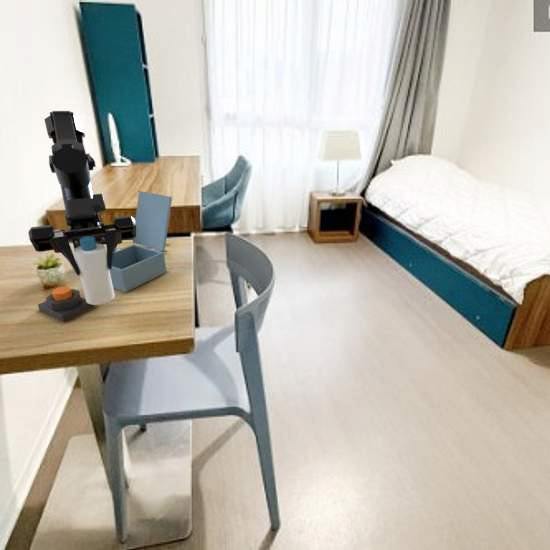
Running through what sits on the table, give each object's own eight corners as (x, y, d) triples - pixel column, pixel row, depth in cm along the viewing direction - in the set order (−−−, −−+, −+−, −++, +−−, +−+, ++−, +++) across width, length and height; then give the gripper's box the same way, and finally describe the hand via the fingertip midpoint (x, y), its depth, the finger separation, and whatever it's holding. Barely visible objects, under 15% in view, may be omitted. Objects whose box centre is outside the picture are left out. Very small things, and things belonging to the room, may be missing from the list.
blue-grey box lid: (170, 196, 95) (172, 197, 96) (138, 190, 100) (141, 191, 101) (162, 250, 97) (164, 250, 98) (132, 242, 102) (134, 242, 103)
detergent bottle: (80, 300, 74) (65, 240, 69) (103, 289, 79) (90, 232, 73) (97, 307, 72) (83, 245, 66) (120, 295, 76) (108, 237, 70)
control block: (39, 311, 81) (35, 297, 80) (69, 297, 87) (65, 284, 85) (64, 322, 77) (60, 308, 76) (93, 307, 83) (90, 294, 81)
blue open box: (125, 292, 90) (121, 271, 87) (95, 281, 95) (90, 260, 92) (166, 272, 100) (163, 252, 98) (136, 263, 105) (133, 244, 103)
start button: (50, 298, 80) (48, 291, 79) (66, 291, 83) (64, 285, 82) (60, 302, 79) (58, 295, 78) (75, 295, 81) (74, 288, 81)
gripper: (14, 184, 64) (27, 265, 60) (127, 175, 72) (145, 246, 68) (30, 215, 74) (42, 286, 70) (128, 205, 82) (143, 268, 78)
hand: (94, 271), depth 71 cm, fingers closed on detergent bottle, 5 cm apart
